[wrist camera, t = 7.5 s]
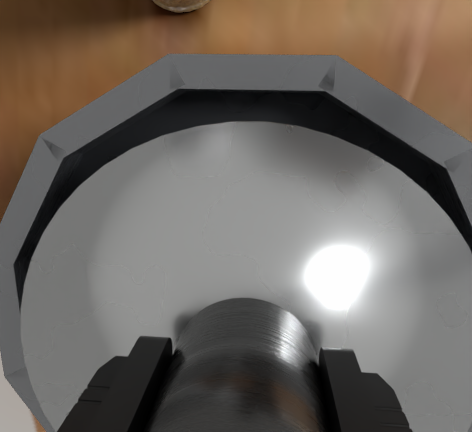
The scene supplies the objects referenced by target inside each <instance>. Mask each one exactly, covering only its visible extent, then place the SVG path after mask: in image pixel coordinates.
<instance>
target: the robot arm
mask: <svg viewBox="0 0 472 432" xmlns="http://www.w3.org/2000/svg"><path fill="white" fill-rule="evenodd" d="M172 356H173V346H172V339H171V338H170V337H154V336H140V337H139V338H138V339H137V341H136V343H135V345H134V346H133V348H132V350H131V352H130V353H129V355H128V356H115V357H113V358H112V359H111V360H109V361H108V362H107V363H105V364H104V365H103V366H101V367H100V368H99V369H98V370H97V371H96V373H95V374H94V376H93V377H92V379H91V380H90V382H89V384H88V385H87V389H85V390H84V391H83V393H82V394H81V396H80V397H79V399H78V402H77V403H75V405H74V406H73V408H72V409H71V411H70V412H69V414H68V415H67V417H66V418H65V420H64V421H63V423H62V424H61V426H60V427H59V429H58V430H57V432H143V430H144V427H145V425H146V422H147V419H148V417H149V414H150V412H151V409H152V407H153V404H154V402H155V399H156V396H157V394H158V391H159V389H160V386H161V384H162V381H163V379H164V376H165V374H166V371H167V368H168V366H169V363H170V361H171V358H172ZM318 368H319V373H320V378H321V383H322V388H323V394H324V399H325V404H326V409H327V414H328V419H329V424H330V429H331V432H413V431H412V429H410V427H409V423H408V420H407V418H406V416H405V414H404V412H402V407H401V405H400V402H399V400H398V398H397V396H396V394H395V391H394V389H393V388H392V387H391V386H390V385H389V384H388V383H387V382H386V381H385V380H384V379H383V378H382V377H381V376H380V375H379V374H377V373H366V372H361V369H360V366H359V364H358V361H357V358H356V355H355V353H354V350H353V349H343V348H327V347H321V348H320V352H319V361H318Z"/></svg>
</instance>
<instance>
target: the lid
mask: <svg viewBox="0 0 472 432" xmlns="http://www.w3.org/2000/svg"><path fill="white" fill-rule="evenodd" d="M140 336H154V337H170V338H171V339H172V346H173V356H172V358H171V361H170V363H169V366H168V368H167V371H166V374H165V376H164V379H163V381H162V384H161V386H160V389H159V391H158V394H157V396H156V399H155V402H154V404H153V407H152V409H151V412H150V414H149V417H148V419H147V422H146V425H145V427H144V430H143V432H331V429H330V424H329V419H328V414H327V409H326V404H325V399H324V394H323V388H322V383H321V378H320V373H319V368H318V361H319V352H320V348H321V347H327V348H343V349H353V350H354V353H355V355H356V358H357V361H358V364H359V366H360V369H361V372H366V373H377V374H379V375H380V376H381V377H382V378H383V379H384V380H385V381H386V382H387V383H388V384H389V385H390V386H391V387H392V388H393V389H394V391H395V394H396V396H397V398H398V400H399V402H400V405H401V407H402V412H404V414H405V416H406V418H407V420H408V423H409V427H410V429H412V431H413V432H467V431H468V429H469V427H470V426H471V424H472V253H471V251H470V248H469V246H468V244H467V243H466V241H465V240H464V238H463V237H462V235H461V234H460V232H459V231H458V229H457V228H456V226H455V225H454V223H453V222H452V220H451V219H450V217H449V216H448V215H447V214H446V213H445V212H444V210H443V209H442V208H441V207H440V206H439V205H438V204H437V203H436V202H435V201H434V199H433V198H432V197H431V196H430V195H429V194H428V193H427V192H426V191H425V190H424V189H422V188H421V187H420V186H419V185H418V184H416V183H415V182H414V181H413V180H412V179H410V178H409V177H408V176H407V175H406V174H404V173H403V172H402V171H401V170H399V169H398V168H396V167H394V166H393V165H391V164H389V163H388V162H386V161H384V160H383V159H381V158H380V157H378V156H376V155H375V154H373V153H371V152H370V151H367V150H365V149H363V148H360V147H358V146H356V145H354V144H351V143H349V142H347V141H344V140H342V139H340V138H338V137H335V136H332V135H330V134H326V133H322V132H319V131H315V130H312V129H308V128H305V127H301V126H297V125H290V124H282V123H275V122H268V121H231V122H223V123H215V124H207V125H201V126H196V127H192V128H188V129H185V130H181V131H177V132H174V133H170V134H166V135H163V136H160V137H158V138H155V139H153V140H151V141H148V142H146V143H144V144H141V145H139V146H137V147H134V148H132V149H130V150H128V151H127V152H125V153H124V154H122V155H120V156H119V157H117V158H115V159H114V160H112V161H110V162H109V163H107V164H105V165H104V166H103V167H101V168H100V169H99V170H98V171H96V172H95V173H94V174H93V175H92V176H90V177H89V178H88V179H87V180H86V181H84V182H83V183H82V184H81V185H80V186H79V187H78V188H77V189H76V190H75V191H74V192H73V193H72V194H71V196H70V197H69V198H68V199H67V200H66V201H65V202H64V203H63V204H62V206H61V207H60V208H59V209H58V211H57V212H56V214H55V215H54V217H53V218H52V220H51V221H50V223H49V224H48V226H47V228H46V229H45V231H44V232H43V234H42V236H41V239H40V241H39V243H38V245H37V247H36V249H35V252H34V254H33V256H32V258H31V262H30V265H29V269H28V272H27V276H26V279H25V283H24V288H23V296H22V303H21V341H22V347H23V354H24V360H25V365H26V368H27V371H28V375H29V378H30V382H31V385H32V388H33V390H34V392H35V395H36V397H37V399H38V401H39V404H40V406H41V408H42V410H43V412H44V414H45V416H46V417H47V419H48V421H49V422H50V424H51V425H52V427H53V429H54V430H55V432H57V430H58V429H59V427H60V426H61V424H62V423H63V421H64V420H65V418H66V417H67V415H68V414H69V412H70V411H71V409H72V408H73V406H74V405H75V403H77V402H78V399H79V397H80V396H81V394H82V393H83V391H84V390H85V389H87V385H88V384H89V382H90V380H91V379H92V377H93V376H94V374H95V373H96V371H97V370H98V369H99V368H100V367H101V366H103V365H104V364H105V363H107V362H108V361H109V360H111V359H112V358H113V357H115V356H128V355H129V353H130V352H131V350H132V348H133V346H134V345H135V343H136V341H137V339H138V338H139V337H140Z"/></svg>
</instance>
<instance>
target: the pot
mask: <svg viewBox="0 0 472 432" xmlns="http://www.w3.org/2000/svg"><path fill="white" fill-rule="evenodd" d="M231 121H268V122H275V123H282V124H290V125H297V126H301V127H305V128H308V129H312V130H315V131H319V132H322V133H326V134H330V135H332V136H335V137H338V138H340V139H342V140H344V141H347V142H349V143H351V144H354V145H356V146H358V147H360V148H363V149H365V150H367V151H370V152H371V153H373V154H375V155H376V156H378V157H380V158H381V159H383V160H384V161H386V162H388V163H389V164H391V165H393V166H394V167H396V168H398V169H399V170H401V171H402V172H403V173H404V174H406V175H407V176H408V177H409V178H410V179H412V180H413V181H414V182H415V183H416V184H418V185H419V186H420V187H421V188H422V189H424V190H425V191H426V192H427V193H428V194H429V195H430V196H431V197H432V198H433V199H434V201H435V202H436V203H437V204H438V205H439V206H440V207H441V208H442V209H443V210H444V212H445V213H446V214H447V215H448V216H449V217H450V219H451V220H452V222H453V223H454V225H455V226H456V228H457V229H458V231H459V232H460V234H461V235H462V237H463V238H464V240H465V241H466V243H467V244H468V246H469V248H470V251H471V253H472V143H471V142H469V141H468V140H466V139H465V138H463V137H462V136H460V135H459V134H457V133H456V132H454V131H452V130H451V129H449V128H448V127H446V126H445V125H443V124H442V123H440V122H439V121H437V120H436V119H434V118H432V117H431V116H429V115H428V114H426V113H425V112H423V111H422V110H420V109H419V108H417V107H416V106H414V105H413V104H411V103H409V102H408V101H406V100H405V99H403V98H402V97H400V96H399V95H397V94H396V93H394V92H393V91H391V90H389V89H388V88H386V87H385V86H383V85H382V84H380V83H379V82H377V81H376V80H374V79H373V78H371V77H369V76H368V75H366V74H365V73H363V72H362V71H360V70H359V69H357V68H356V67H354V66H353V65H351V64H349V63H348V62H346V61H345V60H343V59H342V58H340V57H339V56H337V55H245V54H167V55H166V56H164V57H163V58H161V59H159V60H158V61H156V62H155V63H153V64H152V65H150V66H148V67H147V68H145V69H144V70H142V71H140V72H139V73H137V74H136V75H134V76H132V77H131V78H129V79H128V80H126V81H125V82H123V83H121V84H120V85H118V86H117V87H115V88H113V89H112V90H110V91H109V92H107V93H105V94H104V95H102V96H101V97H99V98H97V99H96V100H94V101H93V102H91V103H90V104H88V105H86V106H85V107H83V108H82V109H80V110H78V111H77V112H75V113H74V114H72V115H70V116H69V117H67V118H66V119H64V120H62V121H61V122H59V123H58V124H56V125H55V126H53V127H51V128H50V129H48V130H47V131H45V132H43V133H42V134H40V135H39V137H38V139H37V142H36V144H35V146H34V149H33V151H32V153H31V155H30V158H29V160H28V162H27V164H26V167H25V169H24V171H23V173H22V176H21V178H20V180H19V182H18V185H17V187H16V189H15V191H14V194H13V196H12V198H11V201H10V203H9V205H8V207H7V210H6V212H5V214H4V216H3V219H2V221H1V223H0V351H1V358H2V364H3V370H4V376H5V378H6V379H7V380H8V382H9V383H10V384H11V386H12V387H13V388H14V390H15V391H16V392H17V394H18V395H19V396H20V397H21V399H22V400H23V401H24V403H25V404H26V405H27V407H28V408H29V409H30V411H31V412H32V413H33V415H34V416H35V417H36V419H37V420H38V421H39V422H40V424H41V425H42V426H43V428H44V429H45V430H46V432H55V430H54V429H53V427H52V425H51V424H50V422H49V421H48V419H47V417H46V416H45V414H44V412H43V410H42V408H41V406H40V404H39V401H38V399H37V397H36V395H35V392H34V390H33V388H32V385H31V382H30V378H29V375H28V371H27V368H26V365H25V360H24V354H23V347H22V341H21V303H22V296H23V288H24V283H25V279H26V276H27V272H28V269H29V265H30V262H31V258H32V256H33V254H34V252H35V249H36V247H37V245H38V243H39V241H40V239H41V236H42V234H43V232H44V231H45V229H46V228H47V226H48V224H49V223H50V221H51V220H52V218H53V217H54V215H55V214H56V212H57V211H58V209H59V208H60V207H61V206H62V204H63V203H64V202H65V201H66V200H67V199H68V198H69V197H70V196H71V194H72V193H73V192H74V191H75V190H76V189H77V188H78V187H79V186H80V185H81V184H82V183H83V182H84V181H86V180H87V179H88V178H89V177H90V176H92V175H93V174H94V173H95V172H96V171H98V170H99V169H100V168H101V167H103V166H104V165H105V164H107V163H109V162H110V161H112V160H114V159H115V158H117V157H119V156H120V155H122V154H124V153H125V152H127V151H128V150H130V149H132V148H134V147H137V146H139V145H141V144H144V143H146V142H148V141H151V140H153V139H155V138H158V137H160V136H163V135H166V134H170V133H174V132H177V131H181V130H185V129H188V128H192V127H196V126H201V125H207V124H215V123H223V122H231ZM467 432H472V424H471V426H470V427H469V429H468V431H467Z"/></svg>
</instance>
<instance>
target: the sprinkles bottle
mask: <svg viewBox="0 0 472 432" xmlns="http://www.w3.org/2000/svg"><path fill="white" fill-rule="evenodd" d="M152 1H153V2H154V3H156V4H157V5H158V6H160V7H162V8H164V9H167V10H169V11H173V12H190V11H192V10H196V9H199V8H201V7H203V6H204V5H205V4H207V3H208V2H210V1H211V0H152Z"/></svg>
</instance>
